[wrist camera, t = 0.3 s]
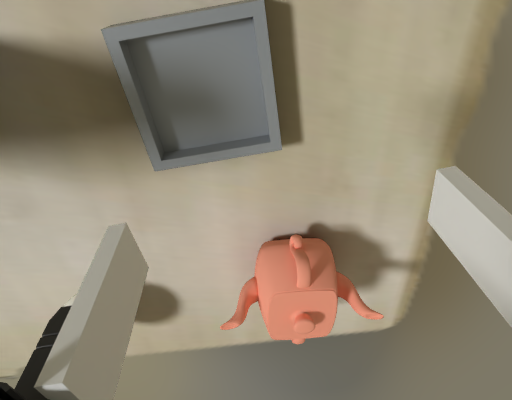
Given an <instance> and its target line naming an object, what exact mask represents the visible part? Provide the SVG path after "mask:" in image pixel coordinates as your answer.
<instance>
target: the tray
mask: <svg viewBox="0 0 512 400" xmlns="http://www.w3.org/2000/svg"><path fill="white" fill-rule="evenodd" d="M101 31H102V34H103V36H104V39H105V42H106V44H107V47H108V50H109V52H110V55H111V57H112V60H113V63H114V65H115V68H116V71H117V73H118V76H119V79H120V81H121V84H122V86H123V89H124V92H125V94H126V97H127V100H128V102H129V105H130V108H131V110H132V113H133V115H134V118H135V121H136V123H137V126H138V129H139V131H140V134H141V137H142V139H143V142H144V144H145V147H146V150H147V152H148V155H149V158H150V160H151V163H152V166H153V168H154V171H160V170H166V169H172V168H178V167H184V166H190V165H196V164H201V163H207V162H213V161H219V160H225V159H231V158H237V157H243V156H249V155H254V154H260V153H266V152H272V151H278V150H282V145H281V137H280V128H279V120H278V112H277V103H276V95H275V87H274V78H273V70H272V62H271V53H270V45H269V37H268V29H267V20H266V12H265V4H264V0H245V1H239V2H234V3H229V4H223V5H218V6H212V7H207V8H202V9H196V10H191V11H185V12H180V13H175V14H169V15H164V16H158V17H153V18H148V19H142V20H137V21H131V22H126V23H121V24H115V25H110V26H108V27H106V28H103V29H101Z"/></svg>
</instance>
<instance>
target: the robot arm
mask: <svg viewBox="0 0 512 400" xmlns="http://www.w3.org/2000/svg"><path fill="white" fill-rule="evenodd" d="M428 222H429V223H430V225H431V226H432V227H433V228H434V230H435V231H436V232H437V233H438V235H439V236H440V237H441V239H442V240H443V241H444V242H445V244H446V245H447V246H448V247H449V249H450V250H451V251H452V253H454V255H455V256H456V258H457V259H458V260H459V261H460V263H461V264H462V265H463V266H464V268H465V269H466V270H467V272H468V273H469V274H470V275H471V277H472V278H473V279H474V280H475V282H476V283H477V284H478V285H479V287H480V288H481V289H482V291H483V292H484V293H485V294H486V296H487V297H488V298H489V299H490V301H491V302H492V303H493V305H494V306H495V307H496V308H497V309H498V311H499V312H500V313H501V315H502V316H503V317H504V319H505V320H506V321H507V322H508V324H509V325H510V326H511V327H512V215H511V214H510V213H509V212H508V211H507V210H505V209H504V208H503V207H502V206H501V205H500V204H499V203H497V202H496V201H495V200H494V199H493V198H492V197H491V196H489V195H488V194H487V193H486V192H485V191H483V190H482V189H481V188H480V187H479V186H478V185H477V184H475V183H474V182H473V181H472V180H471V179H470V178H469V177H467V176H466V175H465V174H464V173H463V172H462V171H461V170H460V169H458V168H457V167H456V166H453V167H447V168H442V169H437V171H436V177H435V182H434V188H433V193H432V199H431V204H430V210H429V215H428ZM148 268H149V267H148V265H147V263H146V261H145V259H144V257H143V255H142V253H141V251H140V249H139V247H138V245H137V243H136V241H135V239H134V237H133V235H132V233H131V231H130V229H129V227H128V225H127V223H123V224H117V225H111V226H108V229H107V231H106V233H105V235H104V237H103V239H102V242H101V244H100V246H99V248H98V250H97V252H96V254H95V257H94V259H93V261H92V263H91V265H90V267H89V270H88V272H87V274H86V276H85V278H84V280H83V282H82V285H81V287H80V289H79V291H78V293H77V295H76V298H75V300H74V302H73V304H72V305H71V306H65V307H61V308H60V309H59V310H58V311H57V313H56V314H55V315H54V316H53V317H52V318H51V319H50V320H49V322H48V324H47V326H46V328H45V330H44V332H43V334H42V338H40V340H39V342H38V344H37V346H36V350H34V352H33V354H32V356H31V358H30V360H29V362H28V364H27V366H26V367H25V369H24V371H23V373H22V375H21V377H20V379H19V381H18V383H17V385H16V387H15V389H13V388H12V387H10V386H9V385H8V384H7V383H2V382H0V400H113V399H114V396H115V392H116V388H117V384H118V380H119V377H120V373H121V369H122V366H123V362H124V358H125V354H126V351H127V347H128V343H129V339H130V336H131V332H132V328H133V324H134V321H135V317H136V313H137V309H138V306H139V302H140V298H141V294H142V291H143V287H144V283H145V279H146V276H147V272H148Z"/></svg>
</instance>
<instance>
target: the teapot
mask: <svg viewBox="0 0 512 400" xmlns="http://www.w3.org/2000/svg"><path fill="white" fill-rule="evenodd" d="M338 297H341V298H343V299H344V300H346V301H347V302H348V303H349V304H350V305H351V306H352V308H353V309H354V310H355V311H356V312H357V313H358V314H359V315H361V316H362V317H364V318H368V319H382V318H383V317H384V316H383V315H382V314H380V313H378V312H376V311H373V310H371V309H370V308H369V307H367V306H366V305H365V303H364V302H363V301H362V299H361V298H360V296H359V294H358V292H357V291H356V289H355V287H354V285H353V284H352V282H351V281H350V280H349V279H348V278H347V277H346V276H344V275H343V274H341V273H339V272H336V267H335V262H334V258H333V254H332V251H331V249H330V247H329V246H328V244H327V243H326V242H325V241H323V240H322V239H319V238H302V237H301V236H300V235H297V234H295V235H293V236H291V238H290V239H285V240H275V241H268V242H265V243H264V244H263V245H262V246H261V248H260V250H259V253H258V256H257V261H256V267H255V277H253V278H252V279H250V280H249V281H248V282H246V283H245V285H244V286H243V288H242V290H241V292H240V296H239V301H238V305H237V309H236V312H235V314H234V316H233V317H232V318H231V319H230V320H229V321H227V322H226V323H224V324H223V325H222V326H221V327H220V329H222V330H228V329H233V328H236V327H238V326H239V325H241V324H242V323H243V321H244V320H245V318H246V315H247V312H248V309H249V307H250V306H251V305H252V304H253V303H255V302H257V301H258V303H259V306H260V310H261V313H262V316H263V319H264V322H265V324H266V327H267V330H268V332H269V334H270V336H271V338H272V339H274V340H292V342H293V343H294V344H302V343H304V342H305V338H315V337H323V336H327V335H328V334H329V333H330V331H331V329H332V327H333V325H334V321H335V318H336V313H337V303H338Z"/></svg>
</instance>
